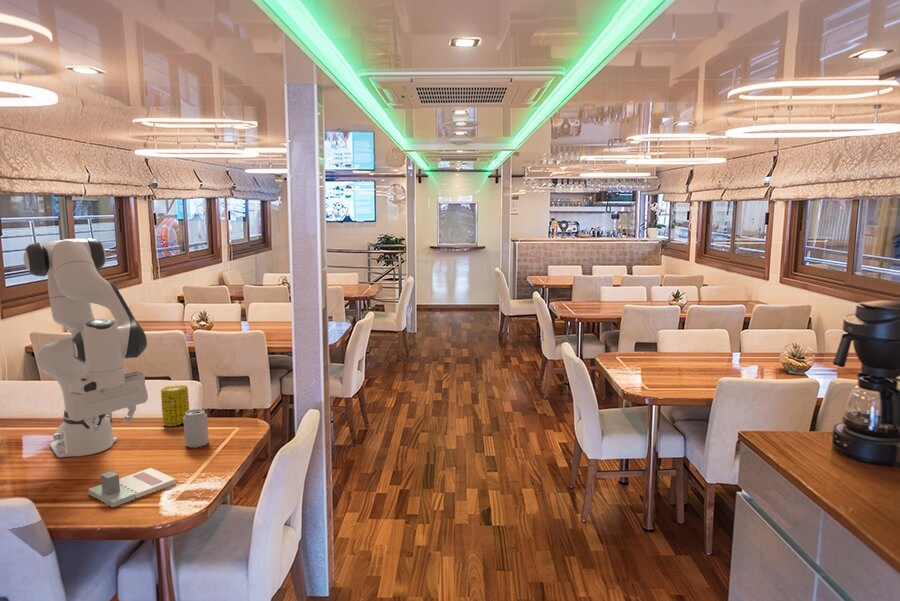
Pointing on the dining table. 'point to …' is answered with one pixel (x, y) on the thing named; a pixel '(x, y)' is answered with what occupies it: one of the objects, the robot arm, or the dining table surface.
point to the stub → (111, 490)
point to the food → (174, 404)
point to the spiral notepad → (146, 482)
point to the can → (195, 428)
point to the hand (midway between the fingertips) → (112, 426)
